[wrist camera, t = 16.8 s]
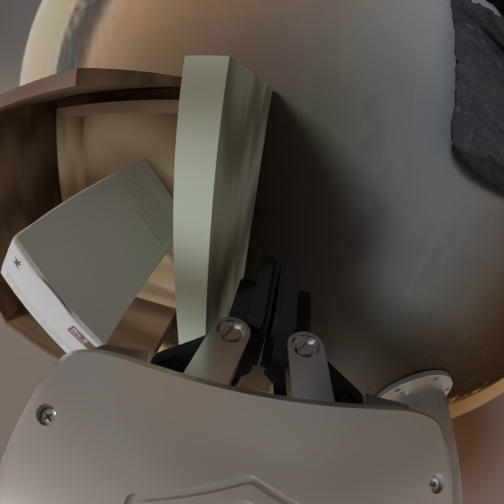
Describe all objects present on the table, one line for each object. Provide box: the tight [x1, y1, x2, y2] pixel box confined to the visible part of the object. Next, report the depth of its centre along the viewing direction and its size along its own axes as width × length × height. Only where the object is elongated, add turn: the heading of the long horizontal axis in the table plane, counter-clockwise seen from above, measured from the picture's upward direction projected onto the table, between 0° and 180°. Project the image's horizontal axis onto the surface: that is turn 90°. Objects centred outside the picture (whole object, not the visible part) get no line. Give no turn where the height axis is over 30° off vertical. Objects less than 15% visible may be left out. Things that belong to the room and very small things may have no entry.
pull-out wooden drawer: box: [56, 55, 273, 345], centre depth 16 cm, size 18×15×12 cm
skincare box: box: [1, 159, 173, 353], centre depth 14 cm, size 6×4×12 cm
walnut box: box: [0, 68, 182, 360], centre depth 16 cm, size 18×15×12 cm
